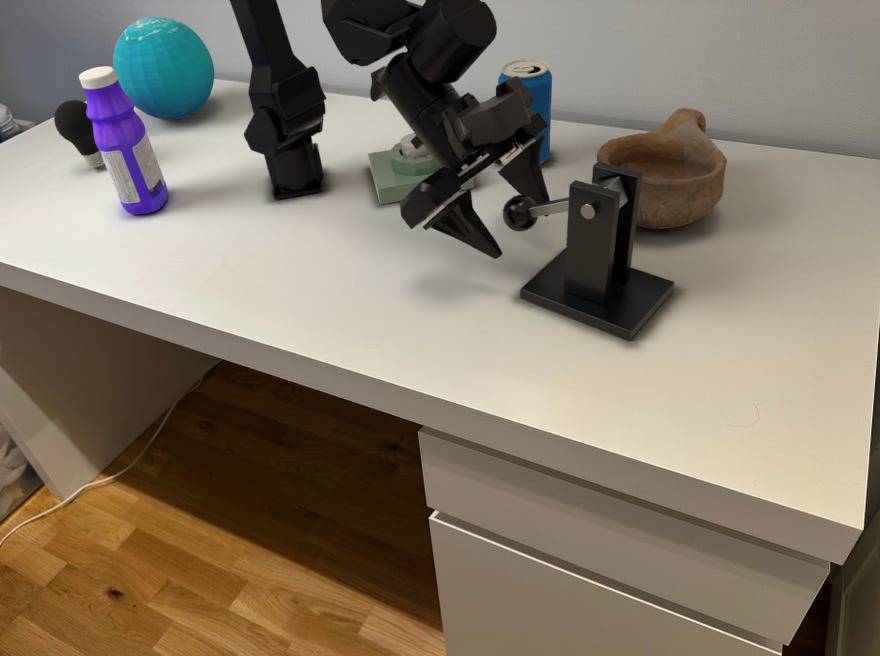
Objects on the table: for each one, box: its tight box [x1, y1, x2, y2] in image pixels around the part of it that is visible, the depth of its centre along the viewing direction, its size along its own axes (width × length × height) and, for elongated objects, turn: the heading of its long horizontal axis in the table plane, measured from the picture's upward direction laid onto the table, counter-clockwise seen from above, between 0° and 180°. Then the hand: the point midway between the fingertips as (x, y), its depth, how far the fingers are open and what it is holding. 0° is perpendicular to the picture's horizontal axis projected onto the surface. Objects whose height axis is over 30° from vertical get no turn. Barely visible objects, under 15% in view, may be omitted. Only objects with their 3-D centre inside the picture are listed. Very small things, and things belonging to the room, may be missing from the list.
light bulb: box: [53, 99, 104, 170], centre depth 100 cm, size 6×6×10 cm
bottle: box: [78, 65, 168, 215], centre depth 88 cm, size 7×6×17 cm
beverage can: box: [497, 58, 553, 165], centre depth 88 cm, size 6×6×12 cm
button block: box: [367, 141, 475, 206], centre depth 90 cm, size 12×10×4 cm
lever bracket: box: [519, 161, 675, 342], centre depth 66 cm, size 12×9×13 cm
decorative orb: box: [112, 15, 215, 121], centre depth 110 cm, size 15×15×15 cm
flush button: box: [399, 132, 430, 158], centre depth 88 cm, size 4×4×2 cm
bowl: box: [596, 107, 728, 229], centre depth 78 cm, size 18×14×10 cm
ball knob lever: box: [502, 177, 628, 233], centre depth 66 cm, size 13×4×4 cm, turn 50°
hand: (525, 235), depth 71 cm, fingers open, 9 cm apart
